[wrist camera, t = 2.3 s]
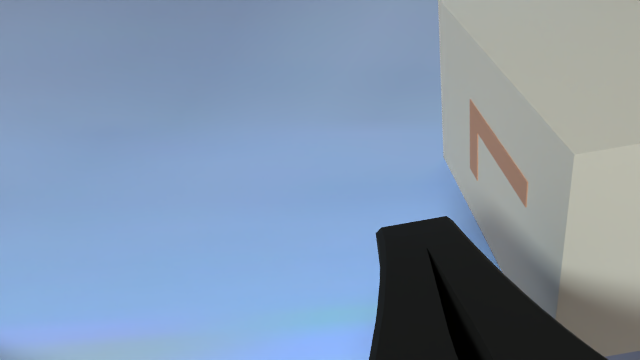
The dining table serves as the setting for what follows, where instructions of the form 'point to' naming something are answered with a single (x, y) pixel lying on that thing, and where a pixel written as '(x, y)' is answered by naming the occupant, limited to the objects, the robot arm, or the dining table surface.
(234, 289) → the dining table surface
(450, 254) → the robot arm
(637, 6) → the block
